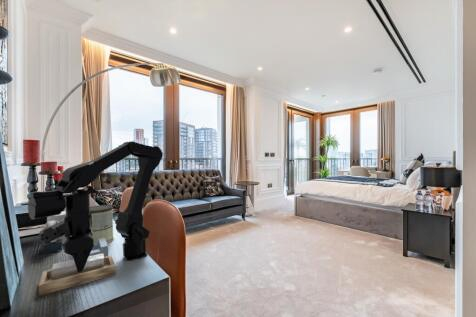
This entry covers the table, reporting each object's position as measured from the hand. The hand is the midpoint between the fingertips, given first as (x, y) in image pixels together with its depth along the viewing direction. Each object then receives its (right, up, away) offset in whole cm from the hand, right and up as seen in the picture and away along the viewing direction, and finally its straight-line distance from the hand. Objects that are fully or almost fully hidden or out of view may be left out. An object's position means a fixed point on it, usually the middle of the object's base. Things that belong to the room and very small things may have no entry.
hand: (79, 265), depth 66 cm
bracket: (-6, -4, +13) cm, 15 cm away
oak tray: (0, -4, 0) cm, 4 cm away
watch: (-24, -4, +21) cm, 32 cm away
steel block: (0, -3, 0) cm, 3 cm away
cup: (-28, -4, +29) cm, 41 cm away
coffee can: (-12, -4, +28) cm, 31 cm away
